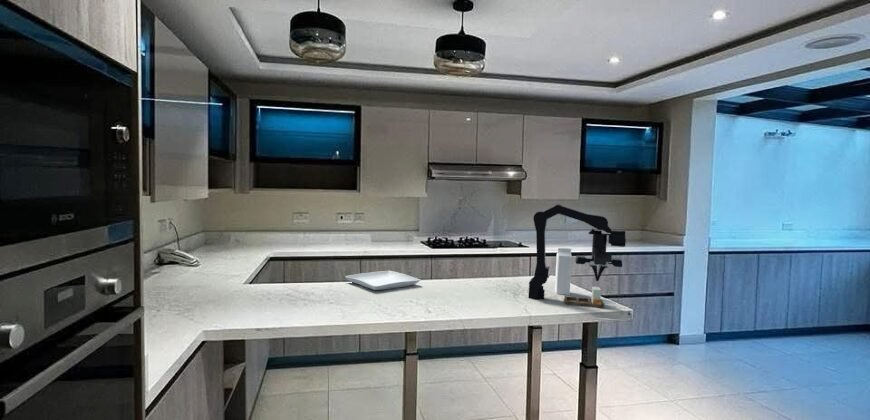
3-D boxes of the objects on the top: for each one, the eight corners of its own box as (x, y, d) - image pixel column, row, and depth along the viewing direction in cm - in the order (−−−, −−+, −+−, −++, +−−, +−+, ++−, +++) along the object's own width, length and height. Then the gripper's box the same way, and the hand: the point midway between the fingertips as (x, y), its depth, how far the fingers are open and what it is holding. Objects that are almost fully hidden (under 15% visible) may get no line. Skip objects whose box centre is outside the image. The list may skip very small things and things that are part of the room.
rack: (564, 306, 205) (565, 297, 204) (563, 300, 215) (564, 291, 215) (604, 310, 201) (605, 300, 201) (601, 303, 212) (602, 294, 211)
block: (592, 305, 204) (593, 289, 204) (591, 302, 210) (592, 286, 210) (599, 306, 204) (600, 290, 203) (598, 302, 210) (599, 287, 209)
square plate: (389, 276, 254) (389, 269, 253) (421, 286, 233) (421, 279, 233) (344, 282, 236) (344, 274, 236) (374, 293, 215) (374, 285, 215)
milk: (554, 292, 230) (556, 247, 228) (567, 293, 229) (569, 247, 228) (556, 295, 224) (558, 248, 222) (569, 296, 223) (572, 249, 222)
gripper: (578, 246, 199) (575, 283, 200) (625, 249, 195) (623, 286, 196) (576, 242, 210) (574, 277, 211) (621, 245, 206) (619, 281, 207)
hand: (597, 281), depth 206 cm, fingers closed
